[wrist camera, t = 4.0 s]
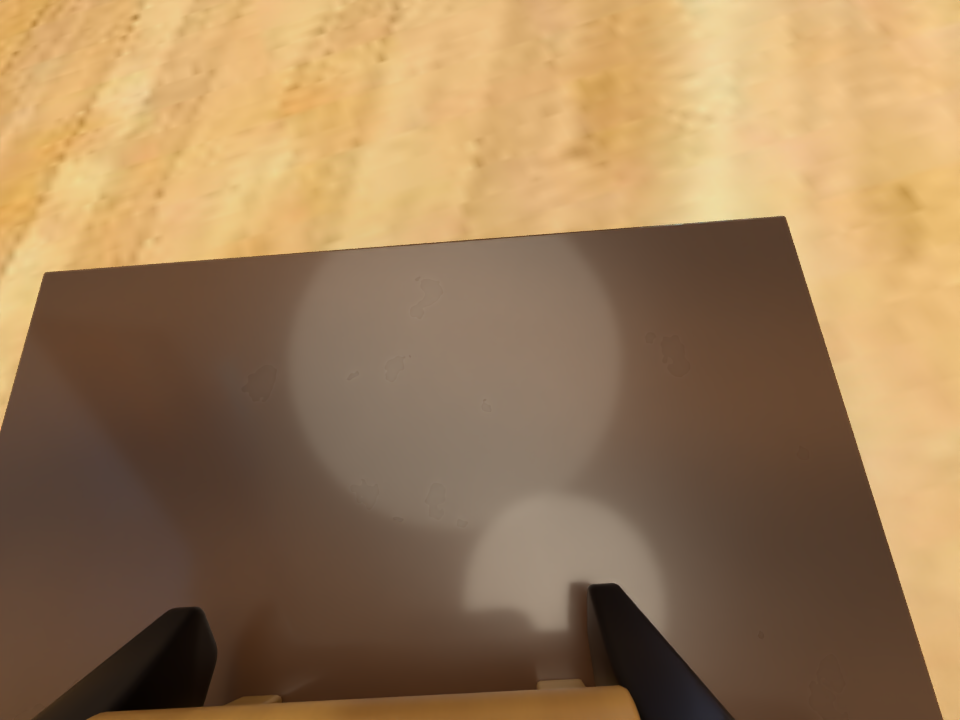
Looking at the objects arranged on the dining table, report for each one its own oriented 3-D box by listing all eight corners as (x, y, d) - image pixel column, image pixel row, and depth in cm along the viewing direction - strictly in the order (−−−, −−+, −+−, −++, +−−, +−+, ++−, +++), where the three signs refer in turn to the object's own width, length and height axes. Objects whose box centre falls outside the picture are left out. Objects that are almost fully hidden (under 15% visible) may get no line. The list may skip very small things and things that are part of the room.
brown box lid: (944, 832, 8) (1458, 1135, 4) (-77, 875, 9) (-694, 1189, 4) (769, 237, 12) (918, 40, 8) (71, 289, 12) (-170, 133, 8)
